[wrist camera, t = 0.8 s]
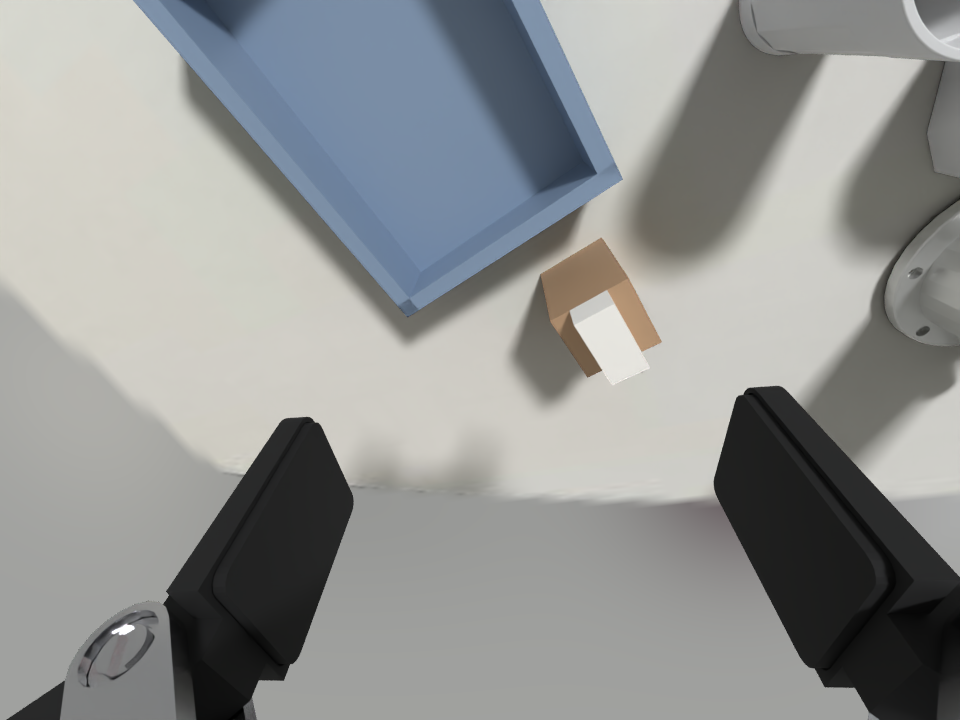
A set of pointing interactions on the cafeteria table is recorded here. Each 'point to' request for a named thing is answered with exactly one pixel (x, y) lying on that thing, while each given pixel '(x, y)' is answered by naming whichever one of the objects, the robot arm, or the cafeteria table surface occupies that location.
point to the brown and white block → (599, 313)
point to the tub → (405, 122)
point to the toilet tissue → (946, 123)
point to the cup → (855, 27)
